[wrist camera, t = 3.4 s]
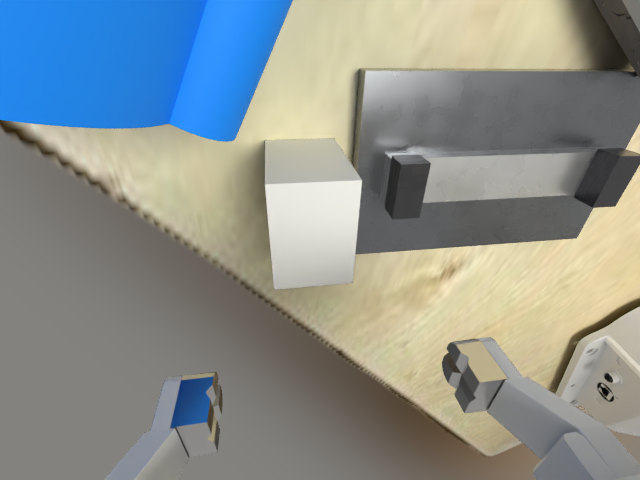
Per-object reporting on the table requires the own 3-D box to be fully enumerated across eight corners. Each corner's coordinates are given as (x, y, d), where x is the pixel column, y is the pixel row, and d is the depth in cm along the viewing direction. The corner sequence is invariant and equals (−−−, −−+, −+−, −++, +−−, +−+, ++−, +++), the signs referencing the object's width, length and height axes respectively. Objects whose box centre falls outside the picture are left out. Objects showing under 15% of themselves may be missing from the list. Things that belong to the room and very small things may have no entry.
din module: (330, 229, 27) (351, 292, 21) (272, 233, 27) (274, 299, 20) (334, 138, 23) (362, 180, 16) (265, 139, 22) (264, 184, 16)
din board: (564, 230, 31) (604, 256, 27) (346, 245, 28) (359, 276, 25) (646, 69, 24) (717, 76, 20) (359, 68, 21) (380, 75, 17)
